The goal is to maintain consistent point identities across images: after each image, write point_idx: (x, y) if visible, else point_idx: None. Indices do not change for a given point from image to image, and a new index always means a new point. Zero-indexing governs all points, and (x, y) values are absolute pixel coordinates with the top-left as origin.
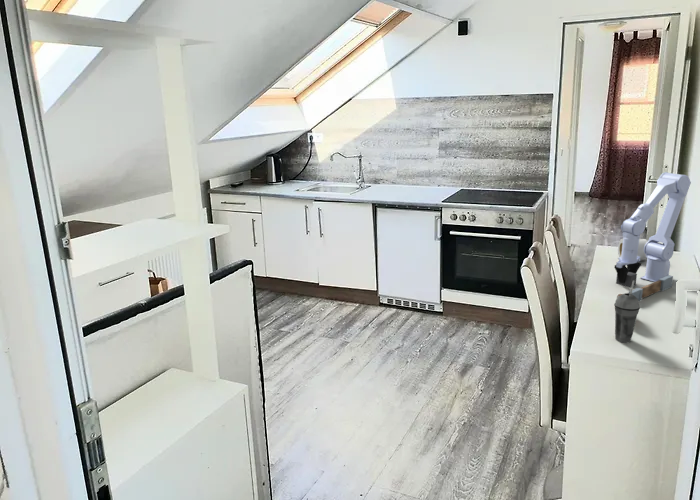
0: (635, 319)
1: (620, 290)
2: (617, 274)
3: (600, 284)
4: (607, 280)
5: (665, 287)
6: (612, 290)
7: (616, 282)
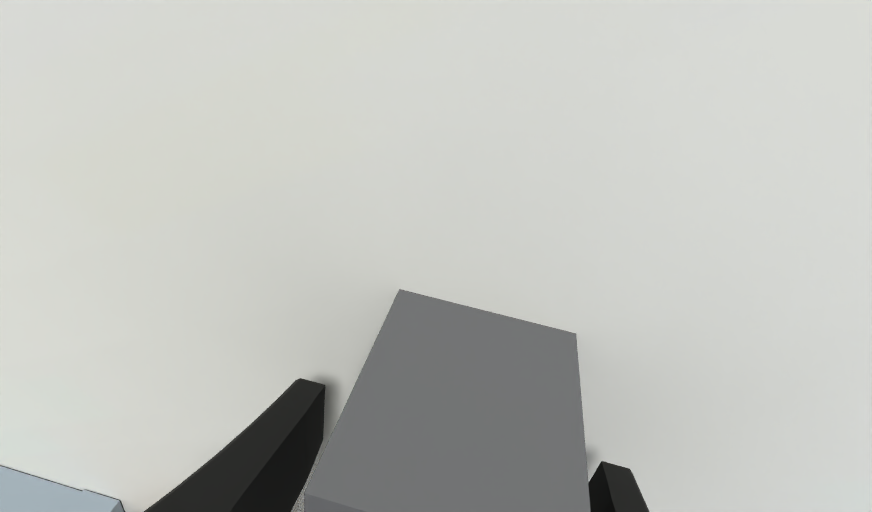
0: None
1: (180, 381)
2: (161, 499)
3: (138, 85)
4: (478, 109)
5: None
6: (93, 312)
7: (392, 308)
